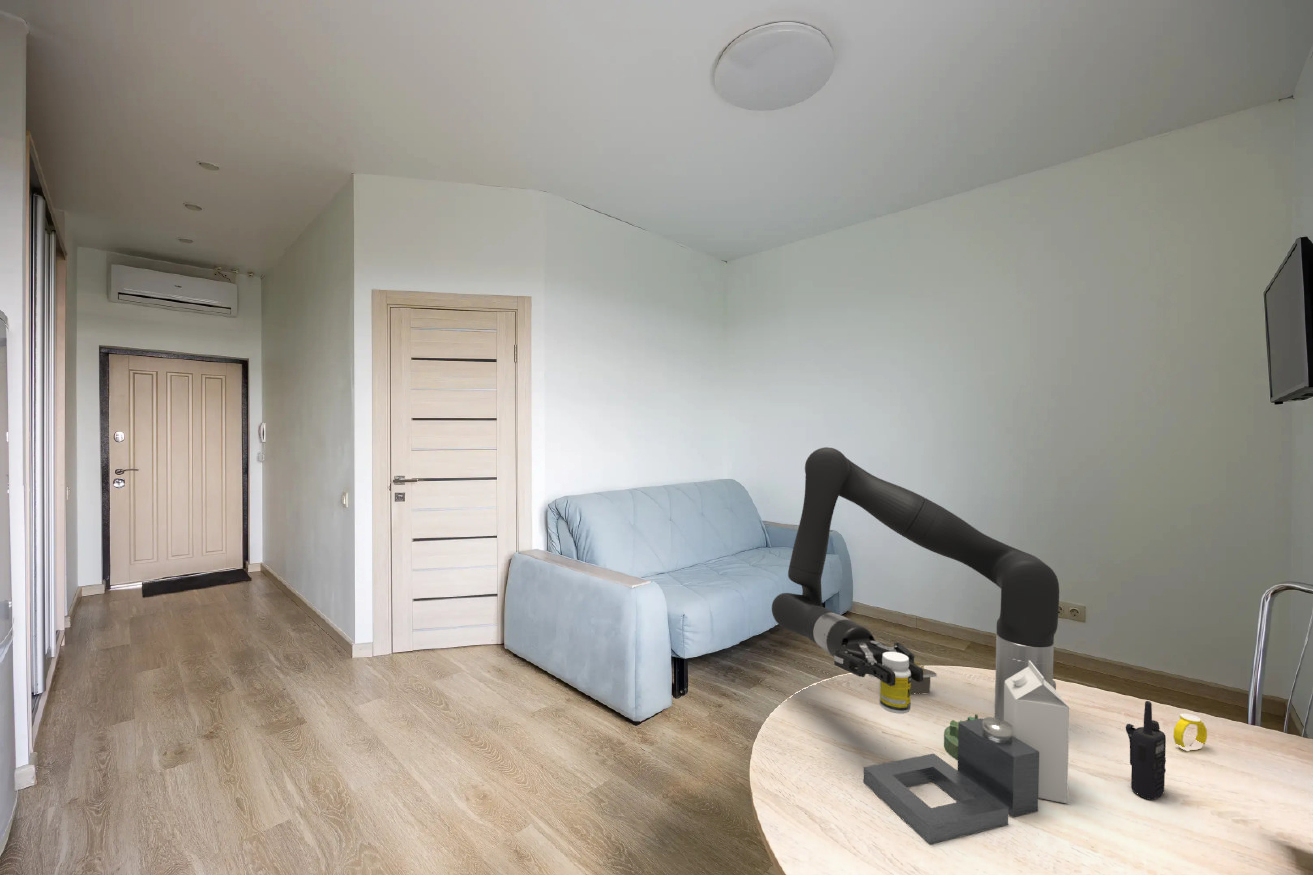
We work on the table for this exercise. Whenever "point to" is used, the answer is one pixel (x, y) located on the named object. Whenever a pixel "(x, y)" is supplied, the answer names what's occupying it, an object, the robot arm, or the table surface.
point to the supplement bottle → (896, 684)
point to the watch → (1183, 723)
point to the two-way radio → (1147, 756)
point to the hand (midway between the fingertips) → (907, 677)
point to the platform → (925, 684)
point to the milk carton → (1040, 727)
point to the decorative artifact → (953, 737)
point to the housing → (964, 783)
